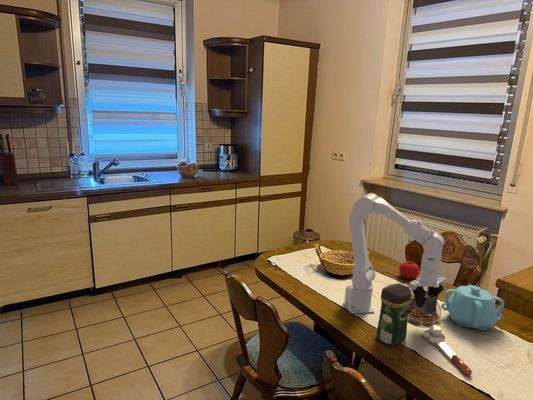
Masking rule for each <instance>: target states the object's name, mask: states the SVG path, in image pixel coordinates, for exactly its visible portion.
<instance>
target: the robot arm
mask: <svg viewBox="0 0 533 400" xmlns="http://www.w3.org/2000/svg"><path fill="white" fill-rule="evenodd" d="M372 212H373V215H384V216H385V217H387V218H388V219H390V220H391V221H392V222H395V224H397V225H399V226H400V227H402V228H403V232H404V233H405V234H406V235H407V236H408V237H409V238H412V239H413V240H414V241H416V242H417V243H418V244H420V245H422V248H423V253H422V257H421V265H420V270H419V277H418V278H415V280H412V281H410V282H409V286H408V287H409V289H410V290H411V292H413V293H412V294H413V296H414V300H415V303H416V306H418V307H420V308H421V307H422V305H423V300H424V297H425V295H426V293H427V291H425V290H426V289H424V288H425V287H427V290H429V291H430V292H432V293H434V294H435V295H437V296H438V297H439V296H440V294H441V292H443V291H444V290H445V289H444V288H445V287H444V285H446V284H447V278H445V277H444V276H439V274H440V269H441V263H442V262H441V261H442V253H443V252H442V250H443V248H444V244H445V238H444V237H443V235H442V234H441V233H440V232H437V231H434V229H432V230H431V229H429V228H428V226H426V225H424V224H423V222H422V221H421V220H417V219H409V218H408V217H407V216H405V215H404V214H403V213H401V212H400V211H399V210H397V209H396V208H395V207H393V206H392V205H391V204H390V203H389V202H388V201H386V200H385V199H384V197H381V196H379V195H377V194H375V193H374V192H369V193H367V194H365V195H364V196H362V197H360V198H358V199H357V200H356V201H355V202H354V203H353V205H352V209H351V211H350V213H349V215H348V225H349V230H350V231H349V232H350V239H351V247H352V254H353V259H354V265H353V269H352V272H353V273H352V274H353V275H352V277H351V283H352V285H348V286H346V287H345V292H344V301H343V304H344V306H345V308H346V309H347V310H348V311H349V313H350V314H363V313H364V314H366V313H370V314H371V313H375V310H374V309H373V307H372V306H371V305H372V295H373V287H374V286H373V284H372V283H373V280H375V278H376V273H375V270H374V268H373V265H372V263H371V261H370V259H369V250H368V244H367V237H366V236H367V235H366V229H365V219H366V218H367V217H368V216H369V215H370V214H371V213H372Z"/></svg>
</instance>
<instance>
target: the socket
mask: <svg viewBox="0 0 533 400" xmlns="http://www.w3.org/2000/svg"><path fill="white" fill-rule="evenodd" d="M424 290H425V291H427V293H426V295H425V297H424V300H423V305H422V307H421V308H420V307H418V306H416V303H415V299H414V300H413V305H412V306H413V308H414V309H416V310H417V311H419V312H420V313H422V314H423V315H427V314H431V313H435V312H436V311H437V310H436V309H437V303H438V299H439V295H438V296H437V295H435V294H434V293H432V292H430V291H429V290H428V288H426V289H424Z"/></svg>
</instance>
